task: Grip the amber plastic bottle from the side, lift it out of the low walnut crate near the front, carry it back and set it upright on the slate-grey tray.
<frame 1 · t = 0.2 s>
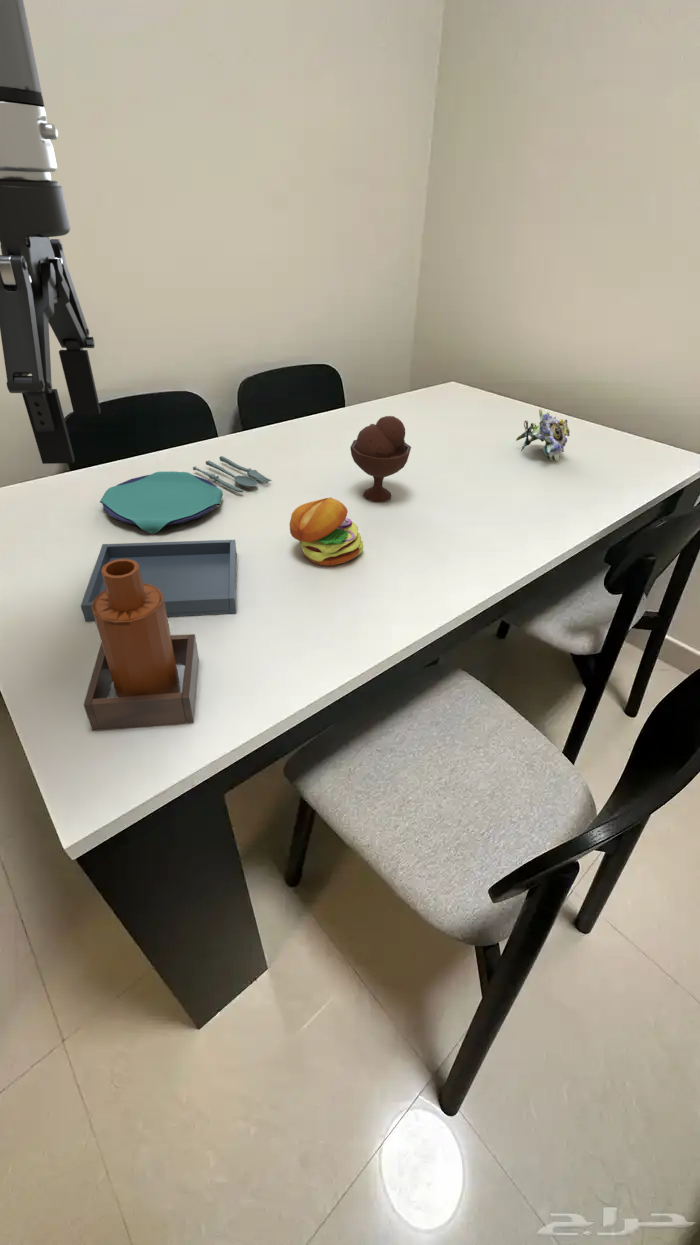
hand: (74, 435, 60), 26 cm above the table, tool pointing down, fingers open, 13 cm apart
cheeseburger: (326, 554, 93), on the table
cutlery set: (188, 498, 106), on the table
crate: (149, 692, 67), on the table
tray: (167, 584, 84), on the table
bottle: (135, 635, 62), in the crate
passion flower: (537, 456, 130), on the table
ice cream bowl: (377, 496, 110), on the table
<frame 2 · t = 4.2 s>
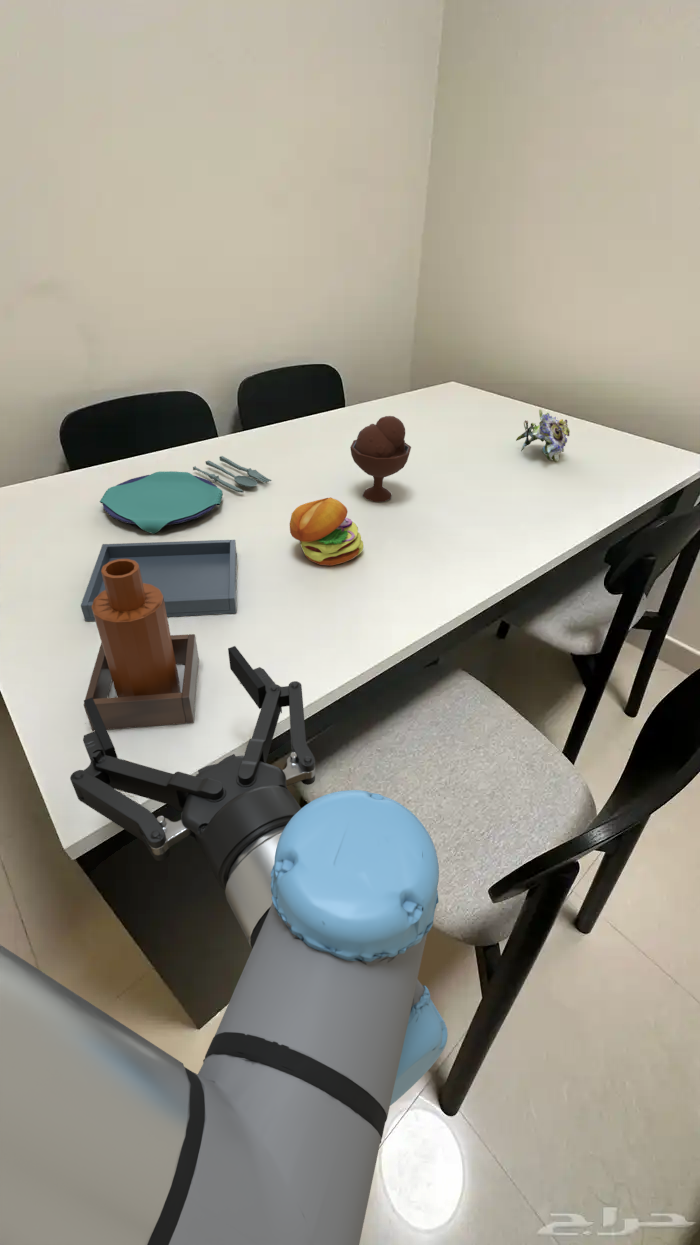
hand: (165, 681, 55), 10 cm above the table, tool horizontal, fingers open, 13 cm apart
nothing on the table moved.
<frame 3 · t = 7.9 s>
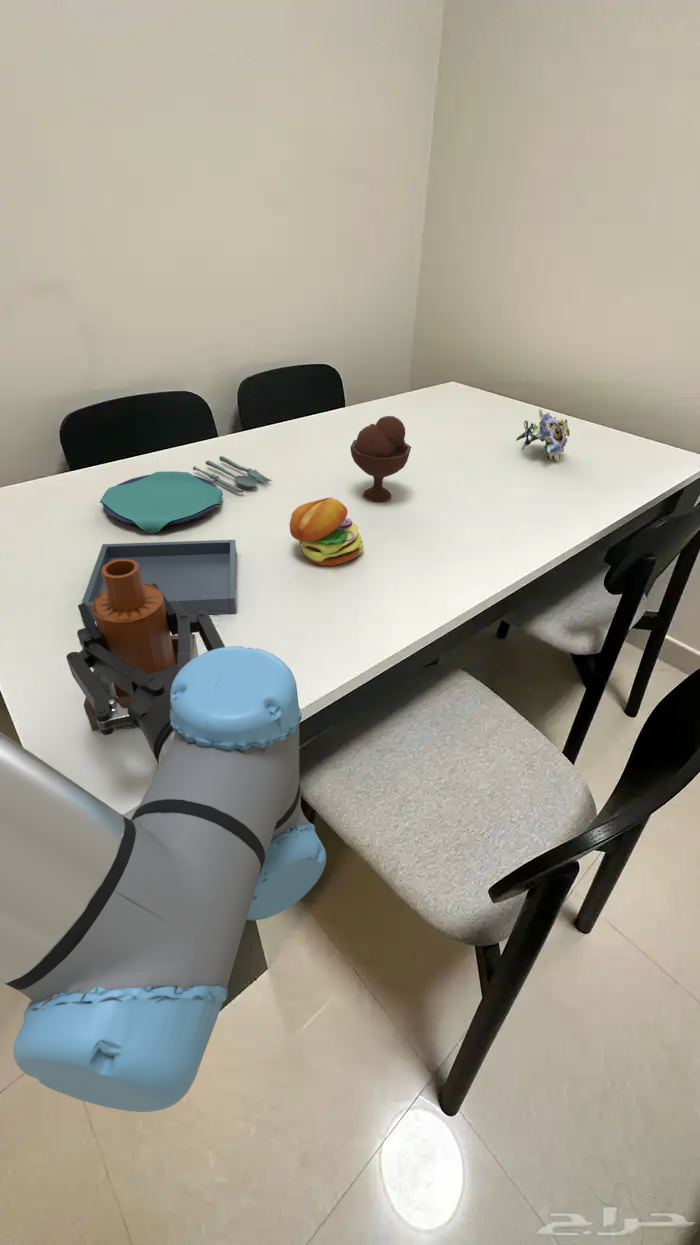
hand: (120, 603, 64), 10 cm above the table, tool horizontal, fingers closed on bottle, 7 cm apart
bottle: (136, 635, 62), in the crate, touching gripper
everything else where it was.
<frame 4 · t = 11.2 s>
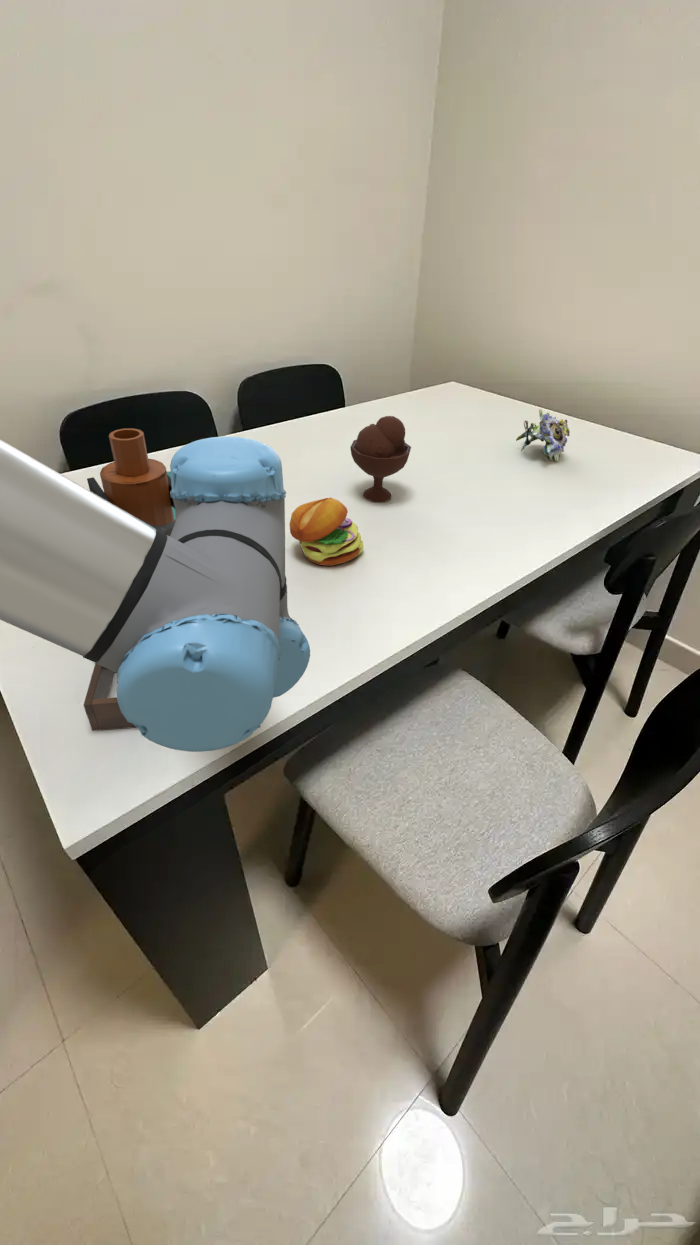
hand: (126, 482, 69), 18 cm above the table, tool horizontal, fingers closed on bottle, 7 cm apart
bottle: (140, 507, 66), point 17 cm above the table, touching gripper
everything else where it was.
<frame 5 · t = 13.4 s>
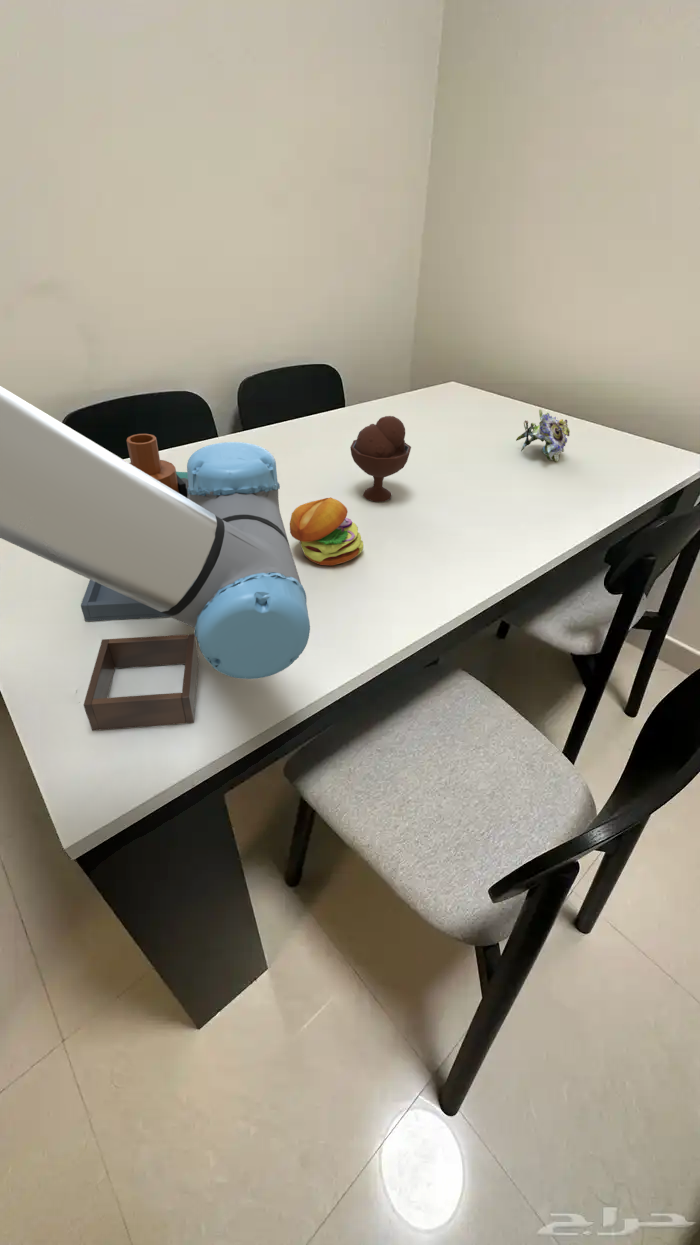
hand: (139, 481, 78), 14 cm above the table, tool horizontal, fingers closed on bottle, 7 cm apart
bottle: (153, 502, 76), point 13 cm above the table, touching gripper
everything else where it was.
when the fingers open (10 cm above the table, at t = 15.0 s): bottle stays where it is, resting on tray.
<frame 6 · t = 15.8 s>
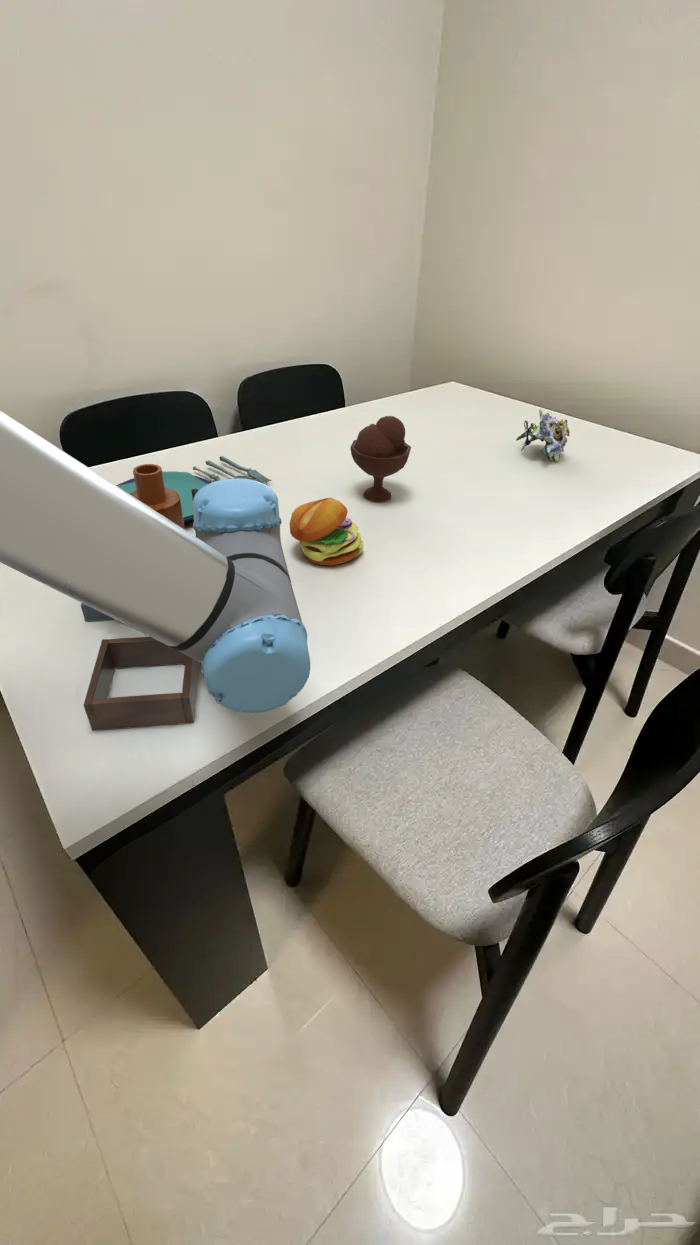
hand: (147, 508, 79), 11 cm above the table, tool horizontal, fingers open, 13 cm apart
bottle: (158, 529, 78), in the tray, point 9 cm above the table
everything else where it was.
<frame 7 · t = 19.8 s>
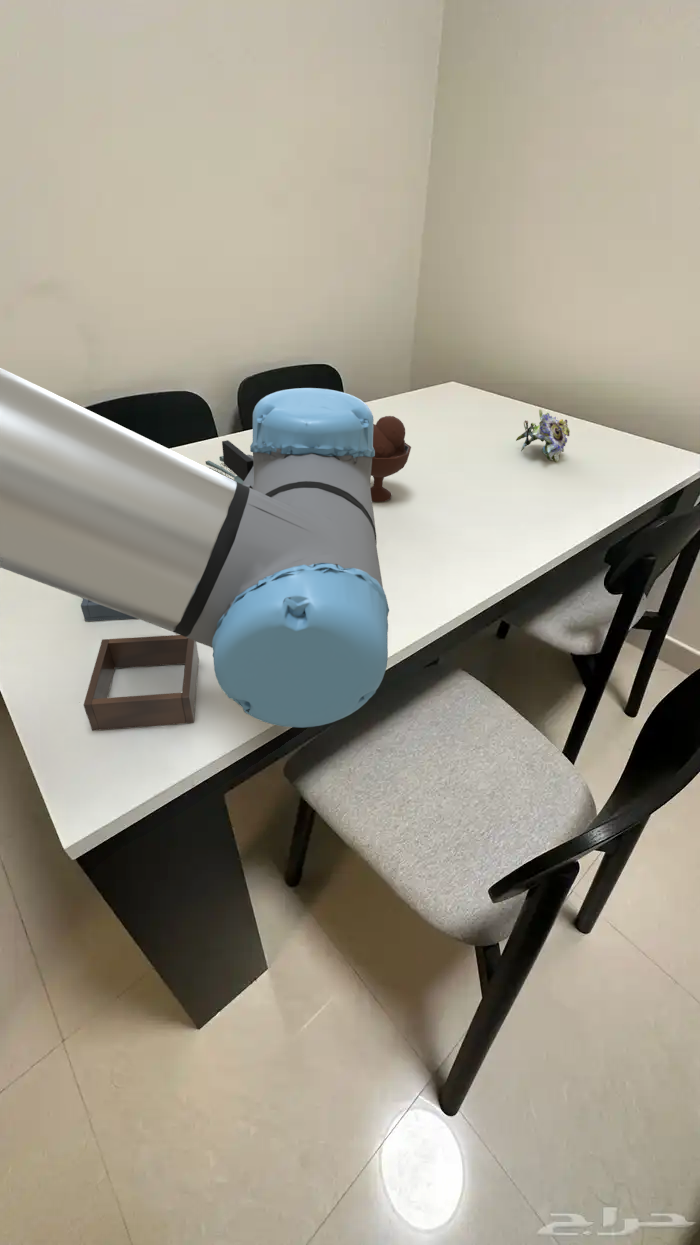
hand: (168, 462, 64), 22 cm above the table, tool horizontal, fingers open, 13 cm apart
nothing on the table moved.
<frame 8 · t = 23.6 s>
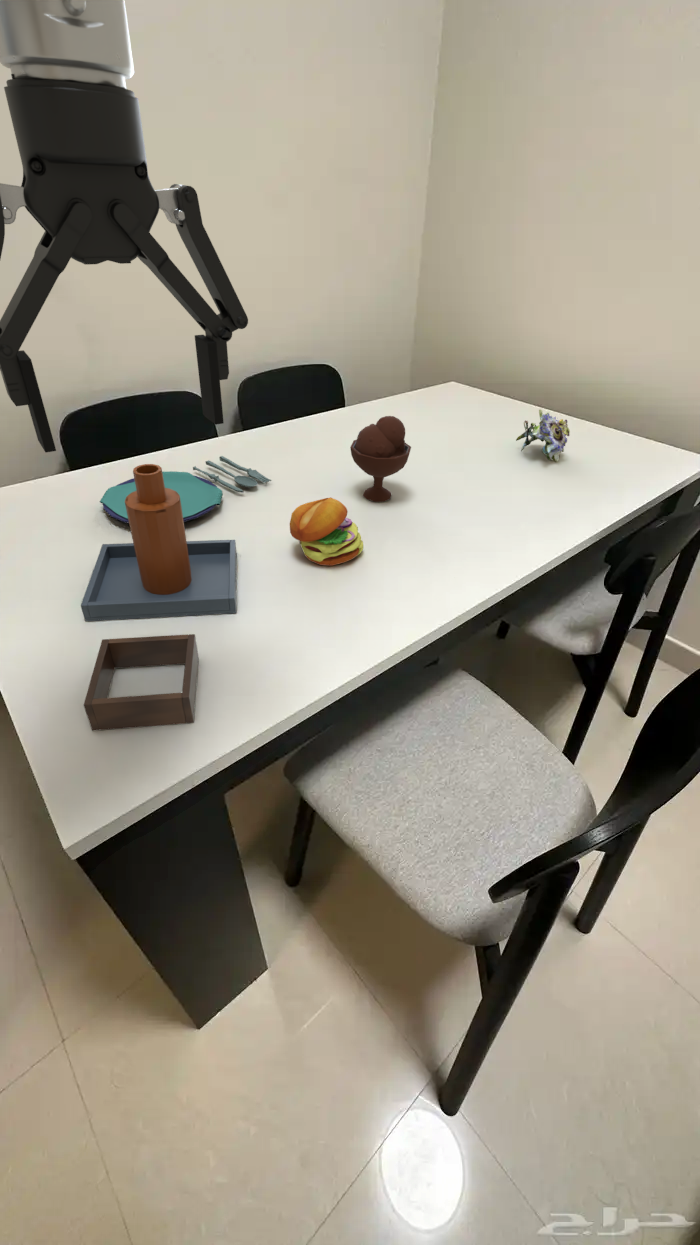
hand: (135, 432, 48), 31 cm above the table, tool pointing down, fingers open, 13 cm apart
nothing on the table moved.
at the end: bottle inside the target area in the tray (0.1 cm from its centre), point 9.1 cm above the tray's base; bottle tilted 0°; the gripper is holding nothing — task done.
